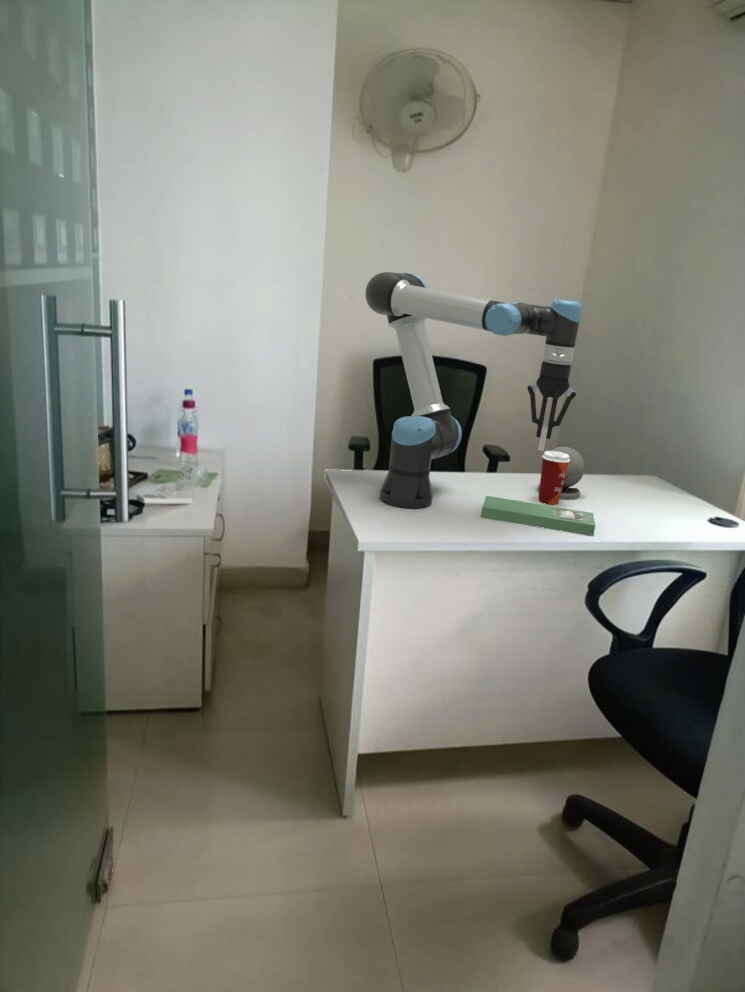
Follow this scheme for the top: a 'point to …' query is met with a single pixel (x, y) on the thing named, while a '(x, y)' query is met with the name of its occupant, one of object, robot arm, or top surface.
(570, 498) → the webcam
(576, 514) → the putting strip
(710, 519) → the top surface
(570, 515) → the ball
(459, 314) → the robot arm
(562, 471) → the coffee cup
